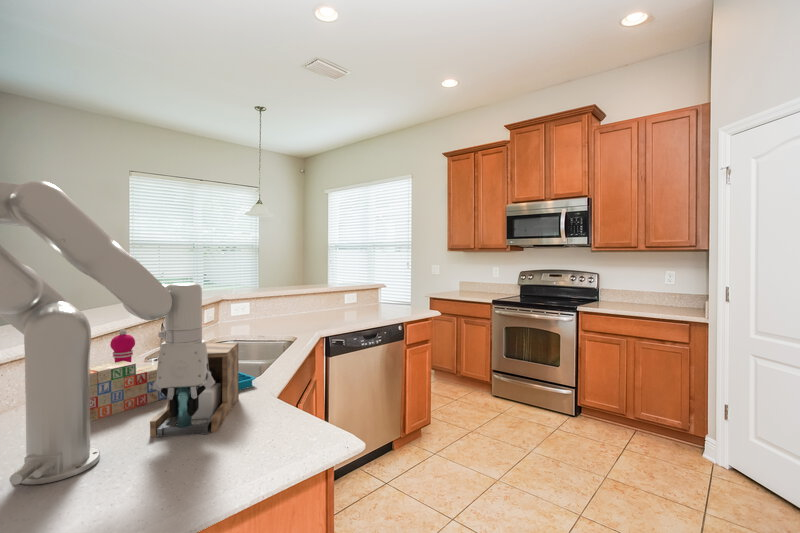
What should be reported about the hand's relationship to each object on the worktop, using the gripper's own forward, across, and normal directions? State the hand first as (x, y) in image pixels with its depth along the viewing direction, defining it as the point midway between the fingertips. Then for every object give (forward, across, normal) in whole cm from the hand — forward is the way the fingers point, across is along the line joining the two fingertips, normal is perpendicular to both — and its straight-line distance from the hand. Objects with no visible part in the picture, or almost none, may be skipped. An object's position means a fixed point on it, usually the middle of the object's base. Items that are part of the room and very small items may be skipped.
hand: (184, 413), depth 93 cm
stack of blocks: (+5, -22, +21) cm, 31 cm away
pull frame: (+5, 0, +8) cm, 9 cm away
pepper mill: (+5, -26, +30) cm, 40 cm away
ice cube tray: (+5, 0, +38) cm, 38 cm away
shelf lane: (+5, 0, +11) cm, 12 cm away
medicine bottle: (+5, +1, +12) cm, 13 cm away
